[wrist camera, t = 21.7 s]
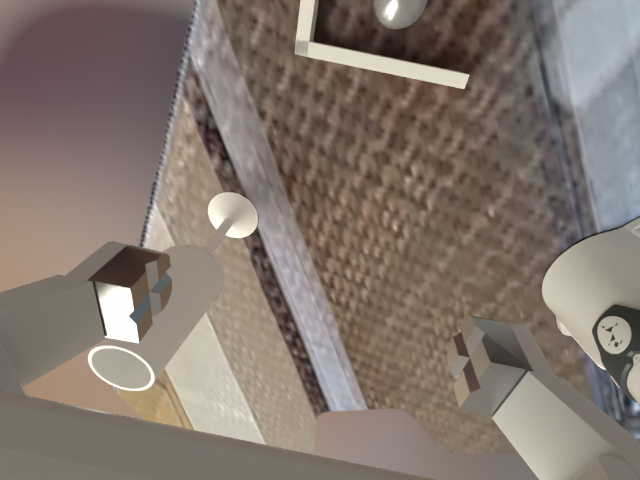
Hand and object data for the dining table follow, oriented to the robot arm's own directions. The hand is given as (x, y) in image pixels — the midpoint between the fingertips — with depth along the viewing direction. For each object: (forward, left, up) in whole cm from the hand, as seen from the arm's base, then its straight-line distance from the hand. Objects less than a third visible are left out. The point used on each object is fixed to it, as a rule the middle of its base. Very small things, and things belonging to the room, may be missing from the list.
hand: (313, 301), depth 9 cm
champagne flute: (+12, +16, -31) cm, 37 cm away
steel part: (-2, -9, -31) cm, 33 cm away
